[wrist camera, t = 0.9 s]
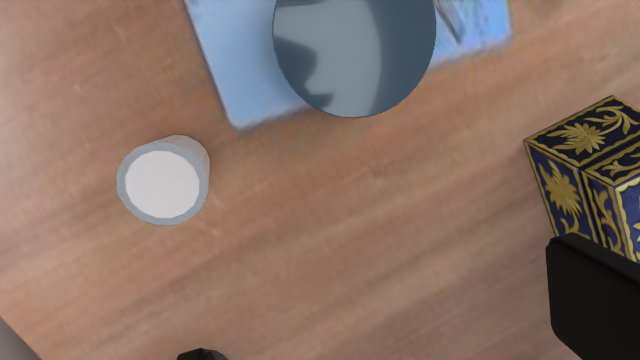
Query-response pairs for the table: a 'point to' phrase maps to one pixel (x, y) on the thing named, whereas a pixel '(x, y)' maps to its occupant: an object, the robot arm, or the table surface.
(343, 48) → the stand
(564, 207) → the decorative box
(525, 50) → the table surface
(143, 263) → the table surface
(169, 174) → the shot glass
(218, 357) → the candle holder
